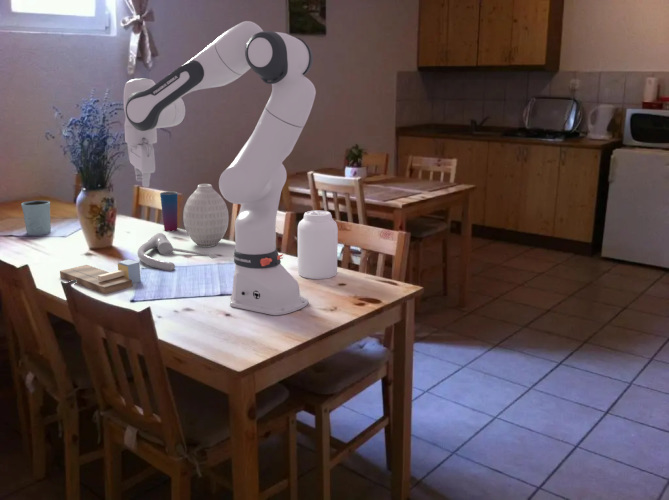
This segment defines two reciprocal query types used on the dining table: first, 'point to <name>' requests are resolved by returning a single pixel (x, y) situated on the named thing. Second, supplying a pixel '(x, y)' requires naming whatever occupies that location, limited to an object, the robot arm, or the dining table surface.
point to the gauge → (124, 271)
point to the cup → (169, 210)
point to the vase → (205, 216)
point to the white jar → (317, 245)
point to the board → (95, 279)
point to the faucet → (162, 252)
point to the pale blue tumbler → (37, 217)
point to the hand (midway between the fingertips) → (142, 183)
